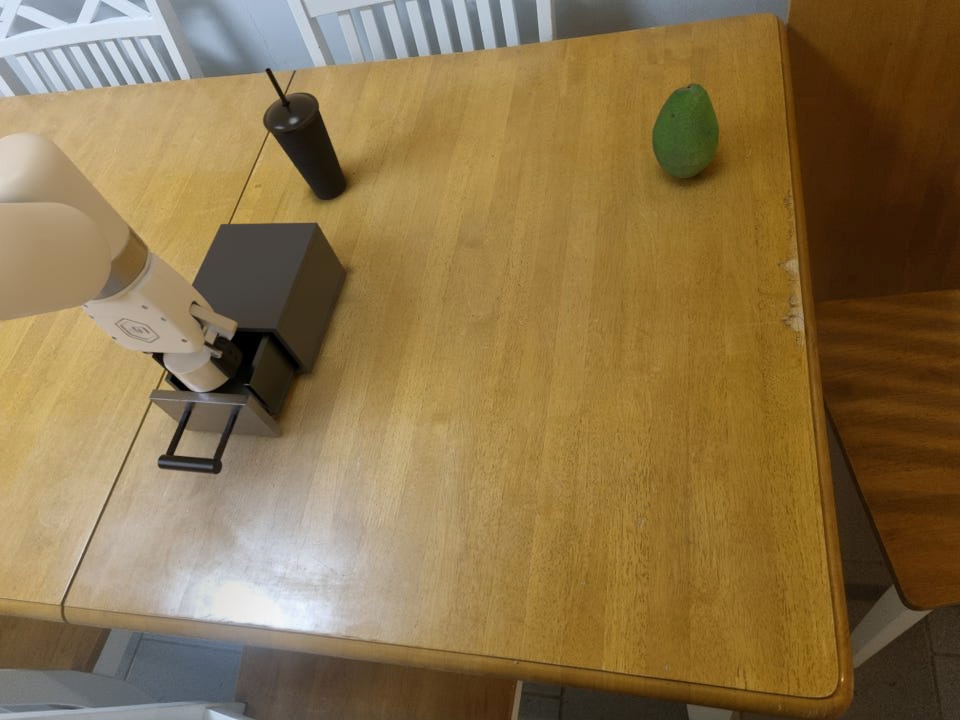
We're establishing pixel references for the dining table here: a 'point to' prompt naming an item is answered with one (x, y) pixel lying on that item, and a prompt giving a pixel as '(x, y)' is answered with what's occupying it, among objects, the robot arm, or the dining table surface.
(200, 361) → the white cylindrical puck
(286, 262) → the cabinet
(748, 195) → the dining table surface
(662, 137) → the fruit
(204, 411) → the drawer
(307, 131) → the drinking cup
